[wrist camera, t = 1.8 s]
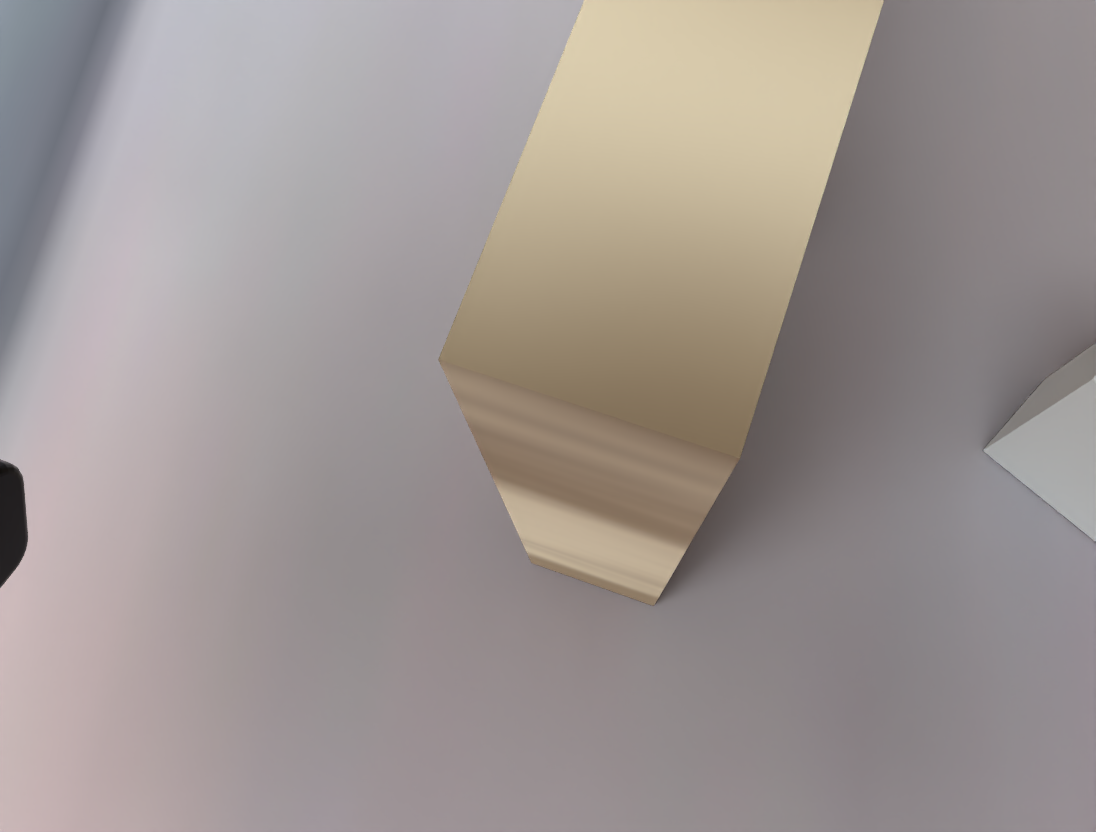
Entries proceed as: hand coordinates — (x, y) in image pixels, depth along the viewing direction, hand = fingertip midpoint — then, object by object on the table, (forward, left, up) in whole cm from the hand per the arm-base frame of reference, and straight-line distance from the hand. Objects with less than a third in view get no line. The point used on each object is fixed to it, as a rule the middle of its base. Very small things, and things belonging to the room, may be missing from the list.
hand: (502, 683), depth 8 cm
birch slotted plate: (+3, +7, -11) cm, 14 cm away
